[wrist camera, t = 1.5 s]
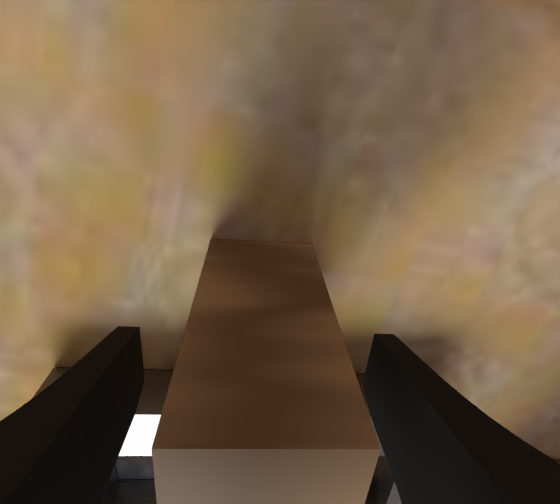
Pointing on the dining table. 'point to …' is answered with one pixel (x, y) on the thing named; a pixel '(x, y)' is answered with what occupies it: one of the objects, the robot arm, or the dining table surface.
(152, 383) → the grey flat frame
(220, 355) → the peg
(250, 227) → the dining table surface
